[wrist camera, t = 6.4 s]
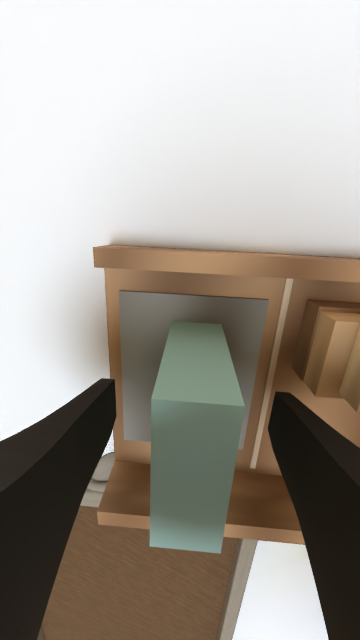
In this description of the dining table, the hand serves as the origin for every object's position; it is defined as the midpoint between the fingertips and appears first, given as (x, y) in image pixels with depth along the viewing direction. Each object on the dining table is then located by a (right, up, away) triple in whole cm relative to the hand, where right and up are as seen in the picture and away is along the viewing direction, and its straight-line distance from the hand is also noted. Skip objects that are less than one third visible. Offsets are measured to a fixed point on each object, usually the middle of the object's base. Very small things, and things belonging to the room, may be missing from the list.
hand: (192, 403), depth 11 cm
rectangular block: (0, +1, +2) cm, 2 cm away
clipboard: (-5, -19, +11) cm, 22 cm away
